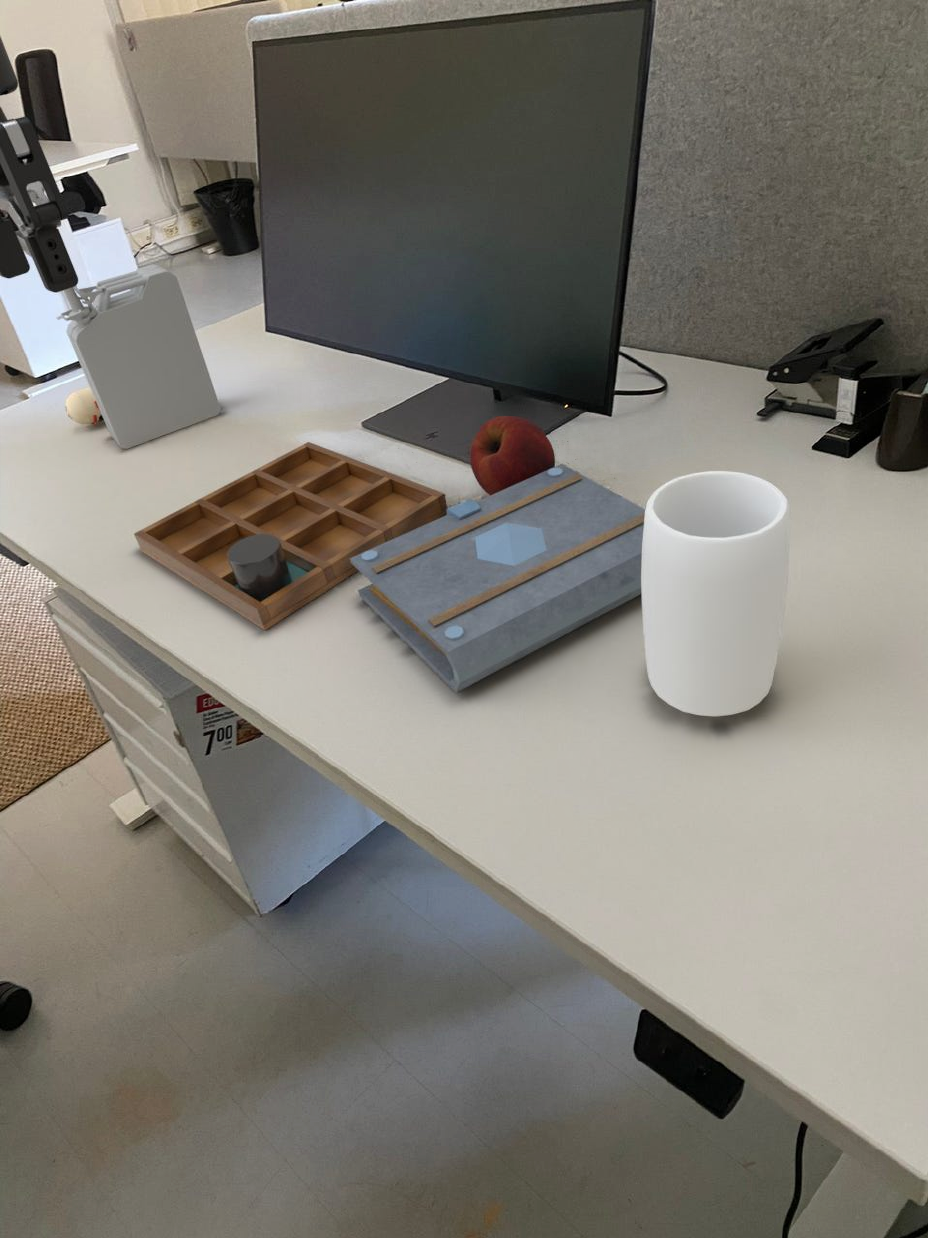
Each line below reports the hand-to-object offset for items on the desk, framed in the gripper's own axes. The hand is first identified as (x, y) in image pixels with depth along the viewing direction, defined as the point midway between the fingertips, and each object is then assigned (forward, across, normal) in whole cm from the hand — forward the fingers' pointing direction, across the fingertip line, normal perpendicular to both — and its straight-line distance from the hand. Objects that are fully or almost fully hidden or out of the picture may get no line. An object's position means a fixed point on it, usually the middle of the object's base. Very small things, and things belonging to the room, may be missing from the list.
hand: (39, 281), depth 64 cm
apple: (+26, +19, +27) cm, 42 cm away
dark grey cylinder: (+25, +12, +4) cm, 28 cm away
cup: (+26, +47, +15) cm, 56 cm away
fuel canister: (+26, -30, +16) cm, 43 cm away
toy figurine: (+26, -40, +16) cm, 50 cm away
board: (+26, +5, +11) cm, 29 cm away
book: (+26, +29, +16) cm, 42 cm away
